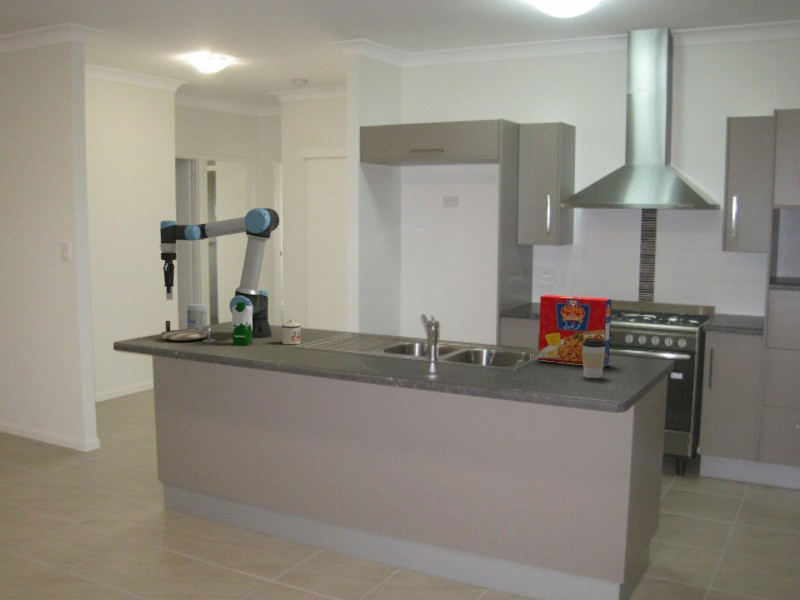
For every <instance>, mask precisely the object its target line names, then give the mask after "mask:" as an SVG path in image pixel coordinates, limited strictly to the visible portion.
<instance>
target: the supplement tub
mask: <svg viewBox="0 0 800 600" xmlns="http://www.w3.org/2000/svg"><path fill="white" fill-rule="evenodd" d="M186 313H187V315H186V317H187V318H186V319H187V321H186V324H187V326H186V327H187V329H196V330H205V331H207V318H208V317H207V314H208V312H207V304H205V303H189V304H187V311H186Z"/></svg>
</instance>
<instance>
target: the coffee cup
mask: <svg viewBox="0 0 800 600" xmlns="http://www.w3.org/2000/svg"><path fill="white" fill-rule="evenodd" d="M582 346H583V351H582V355H583V366H582V367H583V377H584V376H585V377H595V378H596V377H601V376H602V377H603V370H604V368H603V365H604V357H605V346H606V345H605V343H604V342H603V340H601V339H585V341H584V342H583V344H582ZM585 377H584V378H585Z"/></svg>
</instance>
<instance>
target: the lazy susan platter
mask: <svg viewBox="0 0 800 600" xmlns="http://www.w3.org/2000/svg"><path fill="white" fill-rule="evenodd" d="M203 331H205V330H196V329H183V328H182V329H173V330H172V329H171V320H165V331H162V332H161V333H160V336H161V339H164V340H170V339H172V340H189V339H199V340H200V339H203V338H207V333H203Z"/></svg>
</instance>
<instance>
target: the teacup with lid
mask: <svg viewBox="0 0 800 600" xmlns="http://www.w3.org/2000/svg"><path fill="white" fill-rule="evenodd" d="M301 326H302V325H301V324H300V323H298V322H296V321H294V319H293V318H290V319H288V321H286V322H285V323H282V324H281V343H282V344H283V345H285V344H297V345H299V344H301Z"/></svg>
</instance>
